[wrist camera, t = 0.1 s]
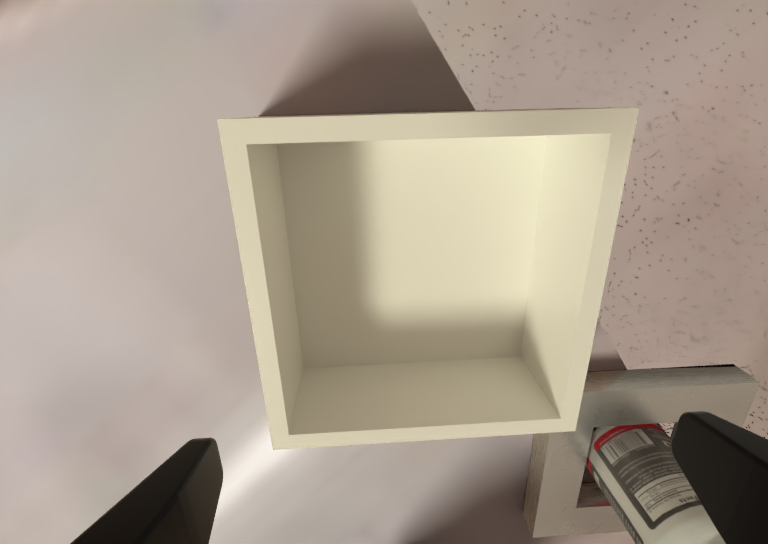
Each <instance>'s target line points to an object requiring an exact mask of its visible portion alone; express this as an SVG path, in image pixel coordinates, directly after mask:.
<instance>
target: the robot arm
mask: <svg viewBox="0 0 768 544" xmlns="http://www.w3.org/2000/svg"><path fill="white" fill-rule="evenodd" d="M671 450H672V453H673V456H674V458H675V460H676V462H677V463H678V465H679V467H680V468H681V470H682V472H683V473H684V475H685V477H686V478H687V480H688V482H689V484H690V485H691V487H692V489H693V490H694V492H695V494H696V495H697V497H698V499H699V501H700V502H701V504H702V506H703V507H704V509H705V511H706V512H707V514H708V516H709V517H710V519H711V521H712V523H713V524H714V526H715V527H716V529H717V531H718V532H719V534H720V536H721V537H722V539H723V540H724V542H725V543H726V544H768V440H767V439H765V438H763V437H761V436H759V435H757V434H754V433H752V432H750V431H748V430H746V429H744V428H742V427H739V426H737V425H735V424H733V423H731V422H729V421H727V420H724V419H722V418H720V417H718V416H716V415H714V414H712V413H709V412H706V411H694V412H685V413H683V414H682V415H681V416H680V418H679V421H678V424H677V427H676V430H675V433H674V436H673V439H672V442H671ZM222 482H223V469H222V464H221V460H220V455H219V451H218V446H217V443H216V441H215V439H213V438H198V439H192V440H190V441H188V442H187V443H186V444H185V445H184V446H182V447H181V448H180V449H179V450H178V451H177V452H175V453H174V454H173V455H172V456H171V457H170V458H169V459H167V460H166V461H165V462H164V463H163V464H162V465H160V466H159V467H158V468H157V469H156V470H155V471H154V472H152V473H151V474H150V475H149V476H148V477H147V478H145V479H144V480H143V481H142V482H141V483H140V484H139V485H137V486H136V487H135V488H134V489H133V490H132V491H130V492H129V493H128V494H127V495H126V496H125V497H124V498H122V499H121V500H120V501H119V502H118V503H117V504H115V505H114V506H113V507H112V508H111V509H110V510H109V511H107V512H106V513H105V514H104V515H103V516H102V517H100V518H99V519H98V520H97V521H96V522H95V523H94V524H92V525H91V526H90V527H89V528H88V529H87V530H85V531H84V532H83V533H82V534H81V535H80V536H79V537H77V538H76V539H75V540H74V541H73V542H72V543H70V544H209V539H210V535H211V530H212V526H213V522H214V517H215V513H216V509H217V504H218V500H219V496H220V491H221V487H222Z"/></svg>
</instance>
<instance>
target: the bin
mask: <svg viewBox="0 0 768 544" xmlns="http://www.w3.org/2000/svg"><path fill="white" fill-rule="evenodd" d="M638 112H639V108H555V109H518V110H482V111H445V112H408V113H372V114H335V115H299V116H262V117H244V118H229V119H217V121H218V127H219V133H220V139H221V145H222V151H223V157H224V163H225V168H226V174H227V180H228V186H229V192H230V198H231V204H232V210H233V216H234V222H235V228H236V234H237V239H238V245H239V251H240V257H241V263H242V269H243V275H244V281H245V287H246V293H247V299H248V305H249V310H250V316H251V322H252V328H253V334H254V340H255V346H256V352H257V358H258V364H259V370H260V376H261V381H262V387H263V393H264V399H265V405H266V411H267V417H268V423H269V429H270V435H271V441H272V447H273V450H278V449H294V448H310V447H327V446H343V445H359V444H375V443H391V442H407V441H423V440H439V439H455V438H471V437H488V436H504V435H520V434H536V433H552V432H568V431H576V426H577V420H578V415H579V410H580V405H581V400H582V395H583V390H584V385H585V380H586V375H587V370H588V365H589V360H590V355H591V350H592V344H593V339H594V334H595V329H596V324H597V319H598V314H599V309H600V304H601V299H602V294H603V289H604V284H605V279H606V274H607V269H608V263H609V258H610V253H611V248H612V243H613V238H614V233H615V228H616V223H617V218H618V213H619V208H620V203H621V198H622V193H623V187H624V182H625V177H626V172H627V167H628V162H629V157H630V152H631V147H632V142H633V137H634V132H635V127H636V122H637V117H638Z"/></svg>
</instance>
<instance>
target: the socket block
mask: <svg viewBox="0 0 768 544" xmlns="http://www.w3.org/2000/svg"><path fill="white" fill-rule="evenodd" d="M759 383H760V382H759V381H757V380H756V379H755V378H753V377H752V376H750V375H749V374H747V373H746V372H744V371H743V370H741V369H740V368H738V367H737V366H735V365H734V364H724V365H706V366H688V367H670V368H653V369H635V370H617V371H599V372H587V375H586V380H585V385H584V390H583V395H582V400H581V405H580V410H579V415H578V420H577V426H576V431H568V432H552V433H536V434H534V440H533V446H532V453H531V460H530V466H529V473H528V480H527V487H526V493H525V500H524V507H523V516H524V518H525V521H526V523H527V526H528V528H529V531H530V533H531V536H532V538H539V537H553V536H566V535H580V534H593V533H607V532H621V531H627V529H626V528H625V526H624V525H623V523H622V521H621V520H620V518H619V517H618V515H617V514H616V512H615V510H614V509H613V507H612V506H611V504H610V503H609V501H608V500H607V498H606V496H605V495H604V493H603V492H602V490H601V489H600V487H599V486H598V484H597V483H596V482H593V483H582V478H583V474H584V469H585V464H586V460H587V455H588V451H589V446H590V442H591V437H592V432H593V428H594V427H605V426H621V425H637V424H653V423H669V422H675V424H674V427H673V431H672V434H671V437H670V438H671V439H673V436H674V433H675V430H676V427H677V424H678V421H679V418H680V416H681V415H682V414H683V413H685V412H694V411H706V412H709V413H712V414H714V415H716V416H718V417H720V418H722V419H724V420H727V421H729V422H731V423H733V424H735V425H737V426H739V427H742V426H743V424H744V421H745V419H746V416H747V414H748V411H749V409H750V406H751V404H752V401H753V399H754V396H755V394H756V391H757V389H758V386H759Z"/></svg>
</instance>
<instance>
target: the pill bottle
mask: <svg viewBox="0 0 768 544" xmlns="http://www.w3.org/2000/svg"><path fill="white" fill-rule="evenodd" d="M671 442H672V439H671V438H670V437H669V436H668V435H667V434H666V433H665V432H664V431H663V430H662V429H661V428H660V427H659V426H658V425H657V424H656V423H653V424H637V425H621V426H605V427H597V428H596V429H595V430H594V431H593V432H592V437H591V442H590V446H589V451H588V455H587V460H586V464H585V465H586V467H587V468H588V470H589V471H590V473H591V475H592V476H593V478H594V480H595V481H596V483H597V484H598V486H599V487H600V489H601V490H602V492H603V493H604V495H605V496H606V498H607V500H608V501H609V503H610V504H611V506H612V507H613V509H614V510H615V512H616V514H617V515H618V517H619V518H620V520H621V521H622V523H623V525H624V526H625V528H626V529H627V531H628V532H629V534H630V535H631V537H632V539H633V540H634V542H635V543H636V544H726V543H725V542H724V540H723V539H722V537H721V536H720V534H719V532H718V531H717V529H716V527H715V526H714V524H713V523H712V521H711V519H710V517H709V516H708V514H707V512H706V511H705V509H704V507H703V506H702V504H701V502H700V501H699V499H698V497H697V495H696V494H695V492H694V490H693V489H692V487H691V485H690V484H689V482H688V480H687V478H686V477H685V475H684V473H683V472H682V470H681V468H680V467H679V465H678V463H677V462H676V460H675V458H674V456H673V453H672V450H671Z"/></svg>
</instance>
